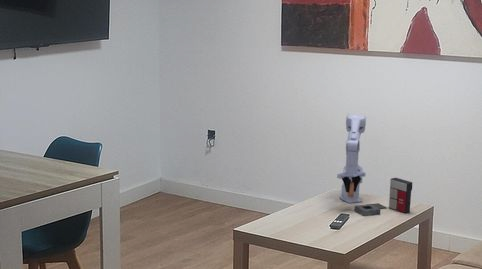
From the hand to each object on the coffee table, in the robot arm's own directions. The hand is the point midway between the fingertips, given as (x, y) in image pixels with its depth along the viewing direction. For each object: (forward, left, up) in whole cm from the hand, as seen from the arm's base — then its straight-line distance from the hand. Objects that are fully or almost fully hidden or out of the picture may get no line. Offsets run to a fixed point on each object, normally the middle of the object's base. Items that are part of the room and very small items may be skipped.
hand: (350, 191), depth 376 cm
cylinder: (0, 0, -2) cm, 2 cm away
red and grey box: (+10, +22, -9) cm, 26 cm away
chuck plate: (+8, +5, -9) cm, 13 cm away
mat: (+1, +14, -9) cm, 17 cm away
